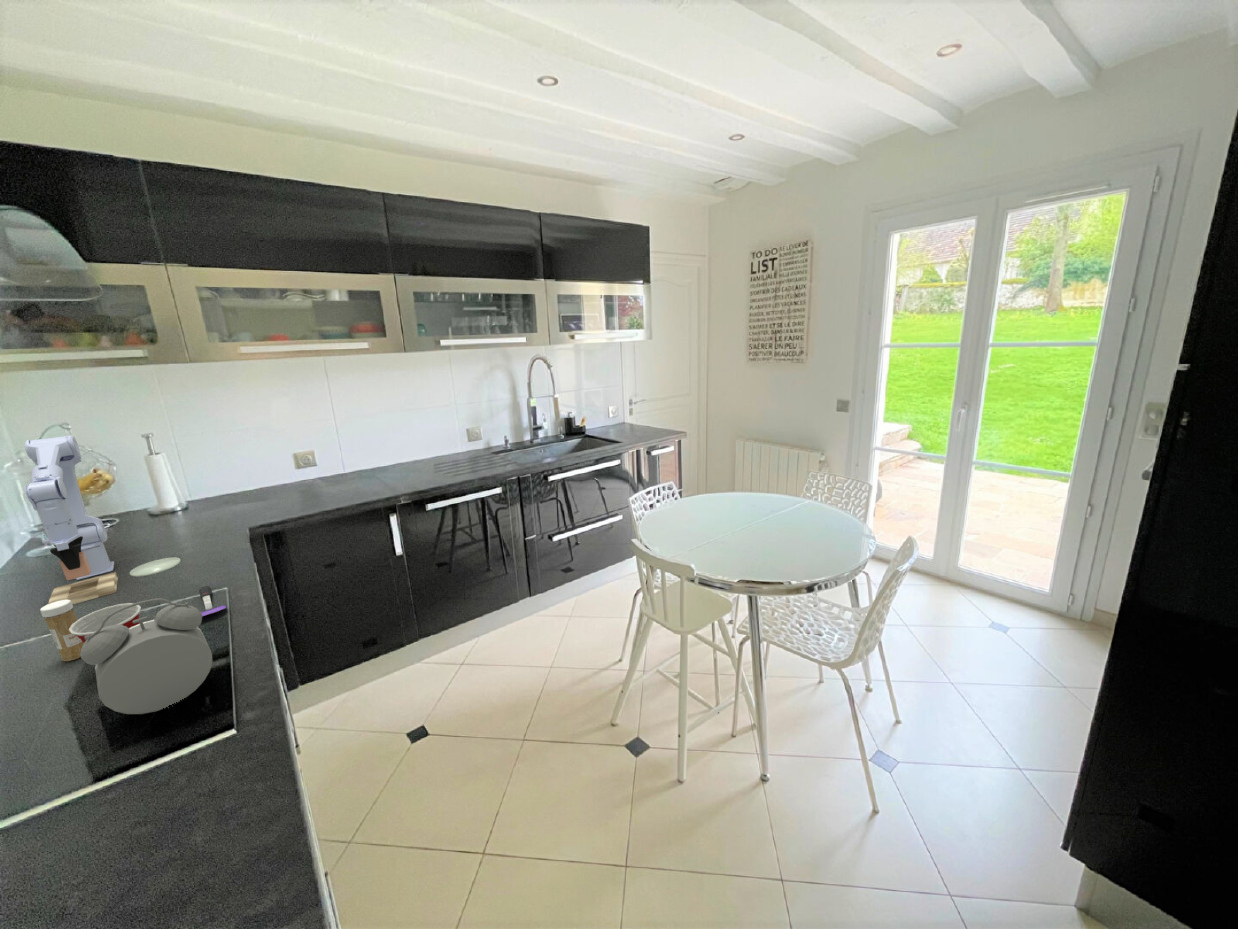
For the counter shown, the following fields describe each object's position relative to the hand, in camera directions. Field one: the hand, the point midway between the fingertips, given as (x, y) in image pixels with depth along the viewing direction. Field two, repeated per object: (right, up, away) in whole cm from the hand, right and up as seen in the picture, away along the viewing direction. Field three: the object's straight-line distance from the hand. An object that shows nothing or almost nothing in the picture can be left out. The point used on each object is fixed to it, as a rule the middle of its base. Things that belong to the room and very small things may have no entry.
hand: (75, 565), depth 135 cm
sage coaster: (+6, -4, +17) cm, 19 cm away
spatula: (+44, -9, -7) cm, 46 cm away
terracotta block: (0, -3, +1) cm, 3 cm away
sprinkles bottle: (+31, -15, -27) cm, 44 cm away
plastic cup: (+46, -15, -31) cm, 57 cm away
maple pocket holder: (+1, -9, +2) cm, 9 cm away
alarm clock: (+69, -18, -43) cm, 83 cm away
